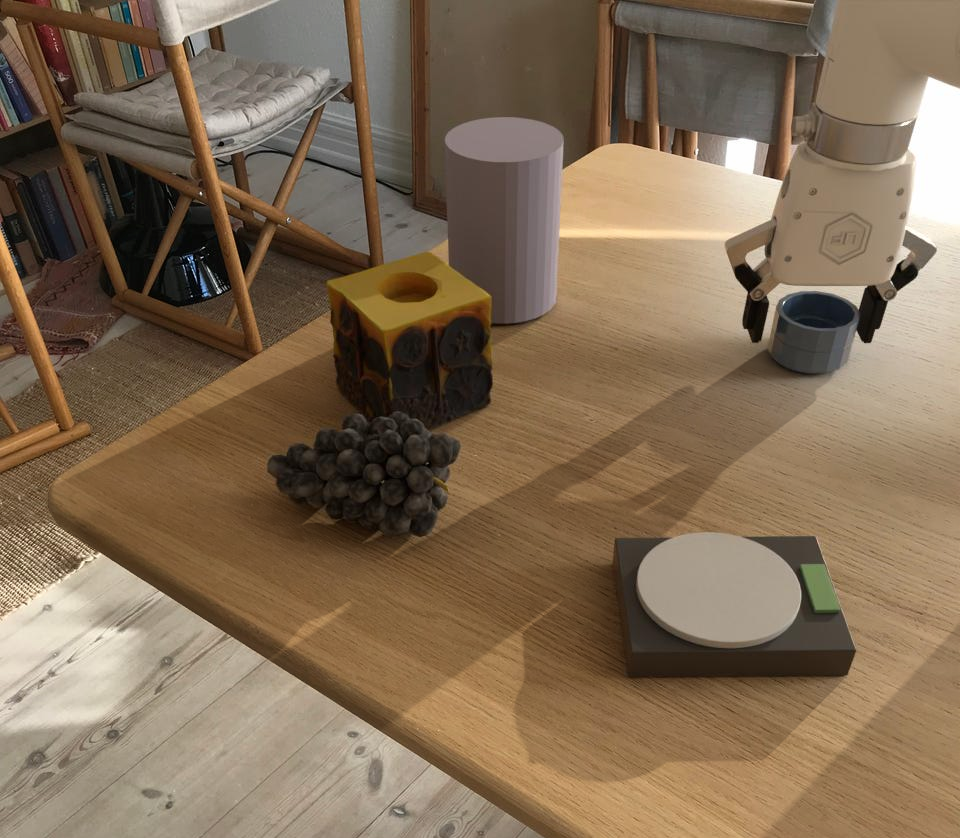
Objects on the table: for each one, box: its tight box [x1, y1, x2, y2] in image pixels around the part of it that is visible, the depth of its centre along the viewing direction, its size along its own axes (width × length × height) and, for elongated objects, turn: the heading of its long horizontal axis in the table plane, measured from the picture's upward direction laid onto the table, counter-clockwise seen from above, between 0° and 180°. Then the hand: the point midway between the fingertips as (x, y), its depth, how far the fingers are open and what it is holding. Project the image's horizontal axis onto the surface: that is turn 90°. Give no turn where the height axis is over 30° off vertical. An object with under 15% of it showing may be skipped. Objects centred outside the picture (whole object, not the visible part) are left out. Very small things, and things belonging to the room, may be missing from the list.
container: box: [444, 116, 565, 326], centre depth 95 cm, size 10×10×15 cm
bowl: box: [767, 290, 860, 375], centre depth 91 cm, size 7×7×4 cm
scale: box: [611, 531, 857, 678], centre depth 69 cm, size 14×11×3 cm
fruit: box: [266, 411, 462, 538], centre depth 76 cm, size 9×8×15 cm
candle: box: [325, 251, 494, 430], centre depth 85 cm, size 10×10×10 cm
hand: (807, 335), depth 92 cm, fingers open, 9 cm apart
